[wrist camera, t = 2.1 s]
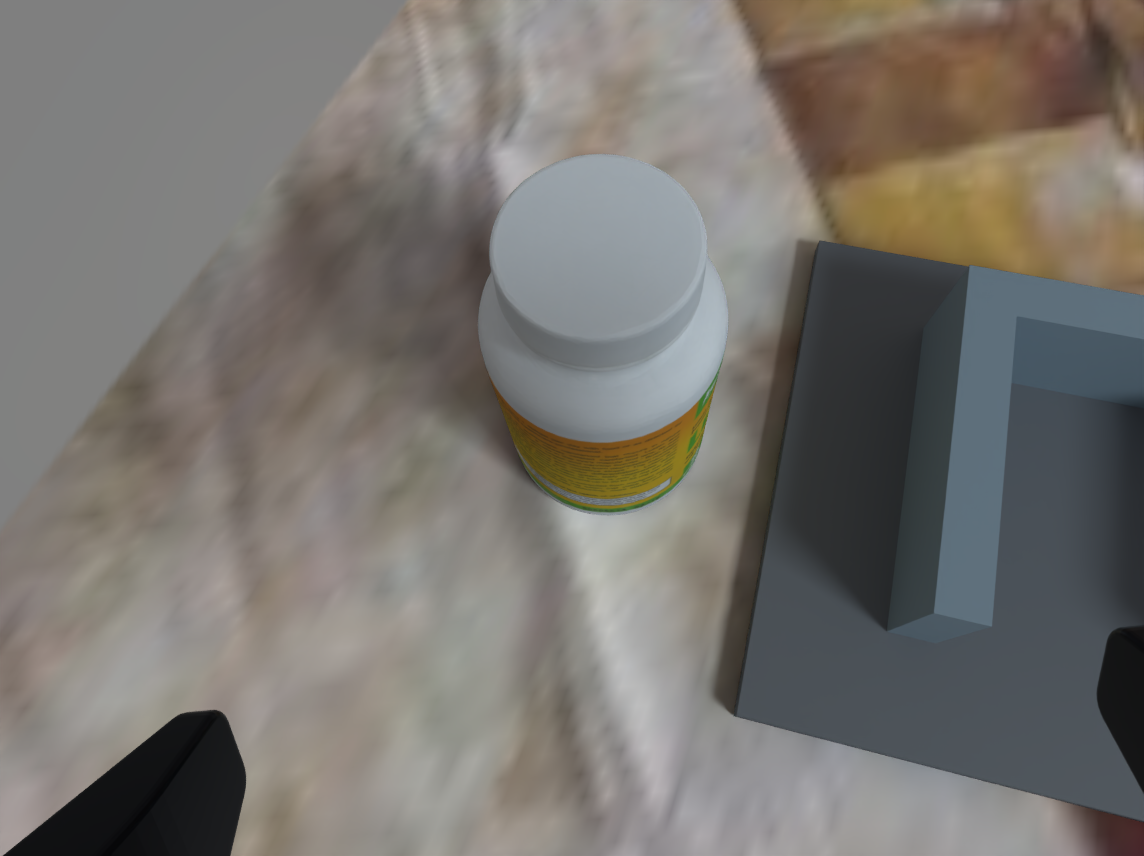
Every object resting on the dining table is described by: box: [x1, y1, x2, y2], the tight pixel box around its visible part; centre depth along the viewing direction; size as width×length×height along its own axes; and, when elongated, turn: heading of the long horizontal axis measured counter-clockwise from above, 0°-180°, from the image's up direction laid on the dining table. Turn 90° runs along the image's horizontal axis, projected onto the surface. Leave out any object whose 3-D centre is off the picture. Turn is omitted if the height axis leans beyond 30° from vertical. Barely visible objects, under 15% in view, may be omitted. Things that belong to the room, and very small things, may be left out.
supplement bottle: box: [478, 154, 728, 515], centre depth 19 cm, size 5×5×10 cm
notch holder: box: [734, 241, 1144, 822], centre depth 20 cm, size 14×16×4 cm
